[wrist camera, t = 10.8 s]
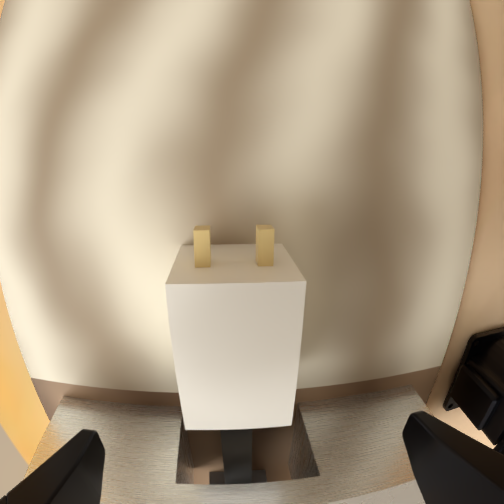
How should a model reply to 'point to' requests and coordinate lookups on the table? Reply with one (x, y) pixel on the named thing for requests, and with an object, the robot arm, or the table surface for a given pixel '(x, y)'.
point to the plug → (236, 341)
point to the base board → (236, 185)
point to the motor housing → (254, 494)
